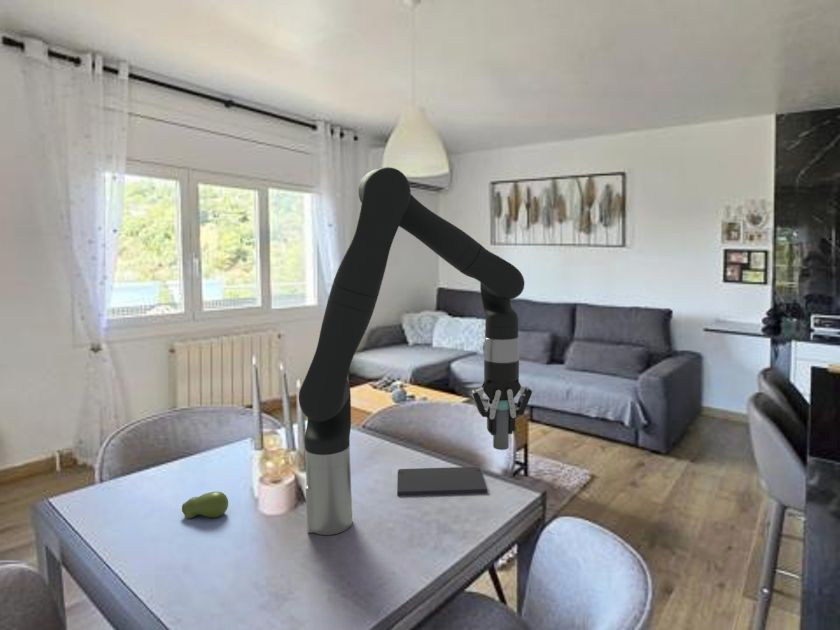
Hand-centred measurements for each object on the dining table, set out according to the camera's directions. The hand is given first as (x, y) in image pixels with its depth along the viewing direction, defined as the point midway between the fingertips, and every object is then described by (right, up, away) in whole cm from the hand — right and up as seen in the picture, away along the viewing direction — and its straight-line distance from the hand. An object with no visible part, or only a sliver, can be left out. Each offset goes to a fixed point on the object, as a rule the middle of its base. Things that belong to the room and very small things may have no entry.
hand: (501, 433), depth 117 cm
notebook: (-13, -16, +14) cm, 25 cm away
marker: (0, -3, 0) cm, 3 cm away
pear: (-66, -18, 0) cm, 68 cm away
